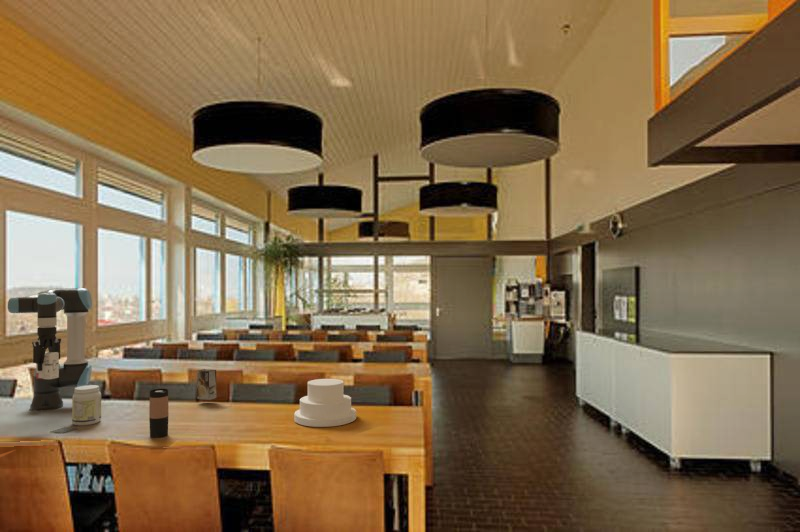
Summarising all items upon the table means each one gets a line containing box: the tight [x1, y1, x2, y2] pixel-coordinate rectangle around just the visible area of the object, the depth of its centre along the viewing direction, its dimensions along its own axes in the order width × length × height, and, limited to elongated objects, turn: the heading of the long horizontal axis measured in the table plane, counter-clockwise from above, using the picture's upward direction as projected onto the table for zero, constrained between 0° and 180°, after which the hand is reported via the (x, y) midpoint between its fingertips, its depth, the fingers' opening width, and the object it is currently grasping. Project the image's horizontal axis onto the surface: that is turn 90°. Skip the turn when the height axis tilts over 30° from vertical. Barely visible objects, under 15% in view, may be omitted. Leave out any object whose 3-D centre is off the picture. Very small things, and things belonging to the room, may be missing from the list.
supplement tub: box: [71, 384, 102, 426], centre depth 261 cm, size 12×12×17 cm
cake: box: [293, 378, 357, 428], centre depth 267 cm, size 30×30×18 cm
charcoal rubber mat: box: [49, 426, 78, 435], centre depth 248 cm, size 8×7×1 cm
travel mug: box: [148, 388, 169, 439], centre depth 238 cm, size 8×8×20 cm
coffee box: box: [196, 368, 217, 401], centre depth 311 cm, size 9×6×16 cm
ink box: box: [35, 351, 60, 379], centre depth 254 cm, size 9×5×12 cm, turn 74°
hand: (47, 376), depth 254 cm, fingers closed on ink box, 5 cm apart
